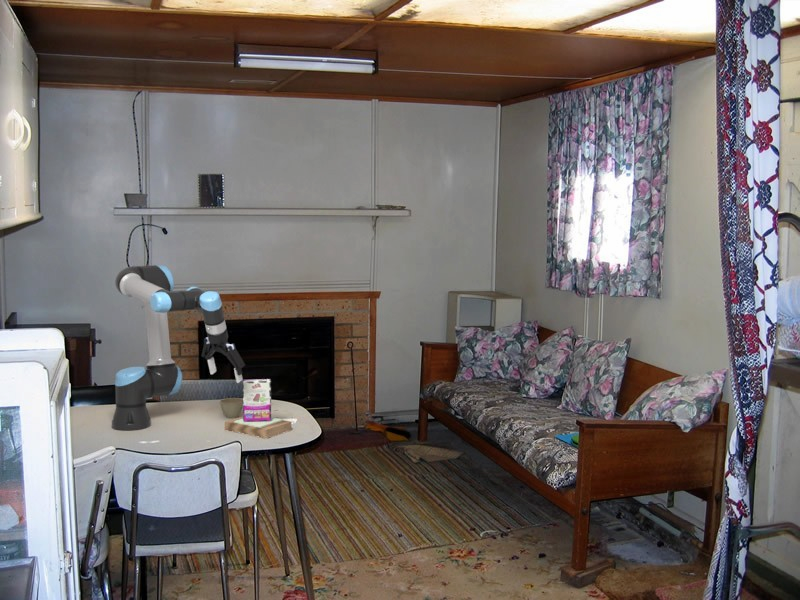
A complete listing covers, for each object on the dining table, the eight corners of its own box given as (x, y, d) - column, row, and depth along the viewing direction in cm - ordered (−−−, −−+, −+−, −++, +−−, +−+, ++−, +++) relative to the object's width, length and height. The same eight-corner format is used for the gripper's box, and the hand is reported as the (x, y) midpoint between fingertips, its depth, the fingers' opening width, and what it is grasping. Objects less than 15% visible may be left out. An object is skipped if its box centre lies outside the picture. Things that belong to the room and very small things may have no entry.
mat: (233, 422, 339) (233, 421, 339) (255, 415, 350) (255, 414, 349) (260, 427, 331) (260, 426, 331) (282, 420, 342) (282, 419, 342)
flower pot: (218, 414, 364) (218, 398, 363) (242, 413, 367) (242, 397, 366) (221, 420, 355) (221, 403, 354) (245, 419, 358) (245, 402, 357)
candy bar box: (271, 418, 344) (271, 378, 342) (271, 421, 339) (271, 381, 337) (243, 418, 342) (243, 378, 340) (242, 422, 337) (242, 381, 335)
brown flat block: (224, 429, 340) (224, 421, 340) (250, 422, 353) (250, 413, 352) (266, 438, 329) (266, 429, 328) (291, 430, 341) (291, 421, 341)
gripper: (185, 328, 325) (196, 374, 335) (235, 342, 312) (244, 389, 323) (199, 319, 330) (209, 364, 340) (248, 332, 318) (257, 379, 328)
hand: (226, 376), depth 332 cm, fingers open, 13 cm apart
